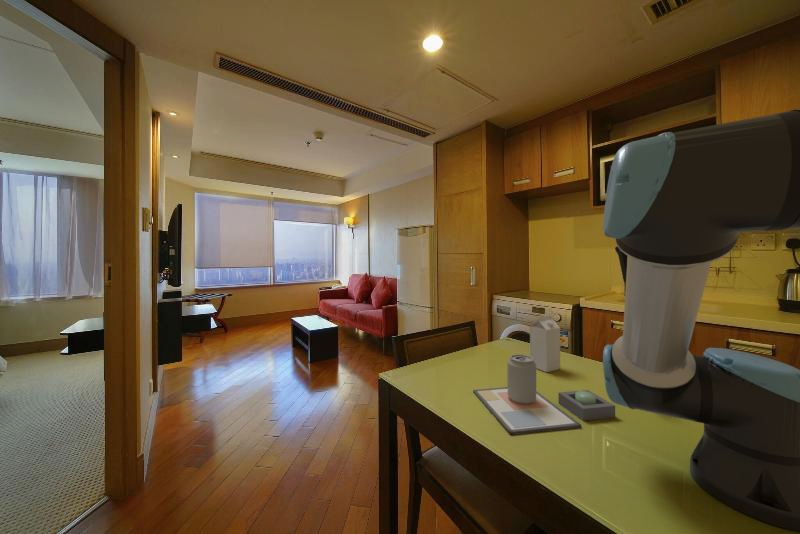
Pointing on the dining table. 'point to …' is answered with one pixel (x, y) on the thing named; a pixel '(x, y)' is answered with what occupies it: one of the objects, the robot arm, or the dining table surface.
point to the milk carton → (545, 344)
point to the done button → (585, 398)
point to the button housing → (586, 406)
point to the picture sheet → (524, 412)
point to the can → (521, 379)
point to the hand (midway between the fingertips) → (640, 312)
